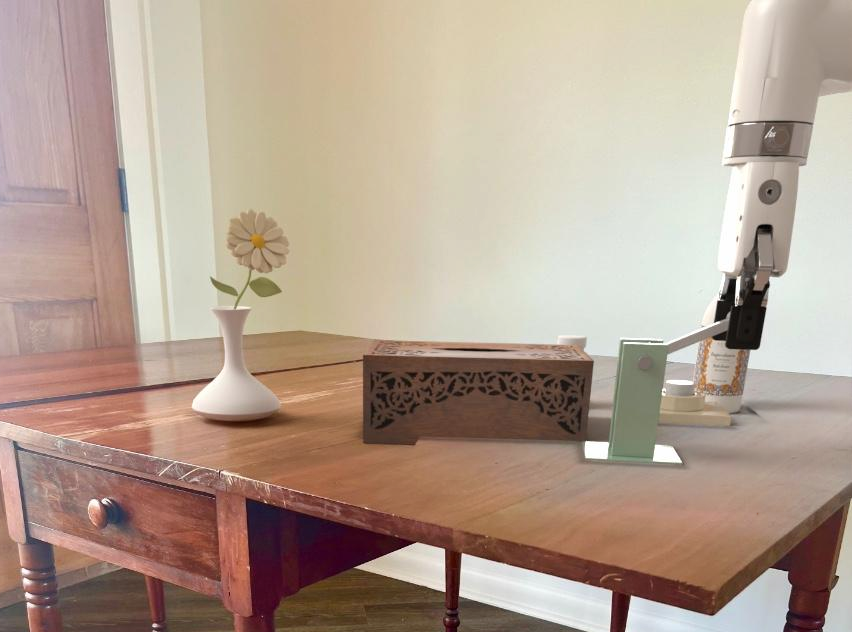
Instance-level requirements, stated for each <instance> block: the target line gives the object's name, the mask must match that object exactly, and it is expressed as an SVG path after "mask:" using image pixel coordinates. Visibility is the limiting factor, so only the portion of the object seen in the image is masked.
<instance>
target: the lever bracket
mask: <svg viewBox="0 0 852 632" xmlns="http://www.w3.org/2000/svg"><path fill="white" fill-rule="evenodd" d="M648 342H650V343H648ZM668 346H669V345H668V344H665V343H664V340H663V339H661V338H633V337H632V338H630V337H620V339H619V347H618V353H617V354H618V355H617V364H616V373H615V380H614V381H615V382H614V391H613V398H612V406H611V407H612V408H611V417H610V424H609V425H610V427H609V436H608V441H607V442H605V441H587V440H586V441H581V445H582V450H583V456H584V461H597V462H600V461H601V462H621V463H637V464H638V463H639V464H658V465H676V466H677V465H678V466H683V464H684V463H683V461H682V460H681V457H680V456H679V455H678V453H677V451H676V450H675V447H674V446H673V445H667V444H656V443H657V436H658V435H657V434H658V427H659V423H658V421H659V414H660V406H661V399H662V391H663V389H664V382H665V375H666V370H667V369H666V367H667V360H668V355H669V354H668ZM667 354H668V355H667Z"/></svg>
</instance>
